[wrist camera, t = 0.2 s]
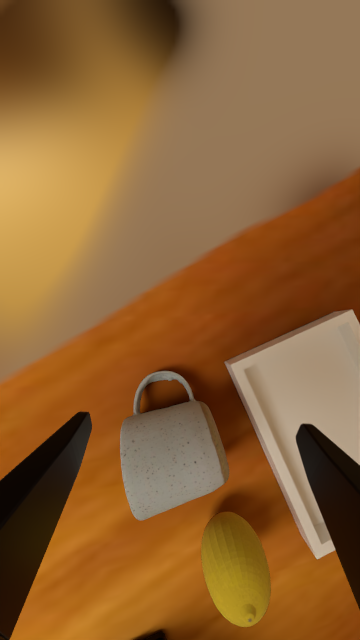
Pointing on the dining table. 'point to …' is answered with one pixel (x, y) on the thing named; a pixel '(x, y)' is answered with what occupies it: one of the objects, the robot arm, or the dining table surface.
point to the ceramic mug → (170, 453)
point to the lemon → (235, 569)
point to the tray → (303, 405)
